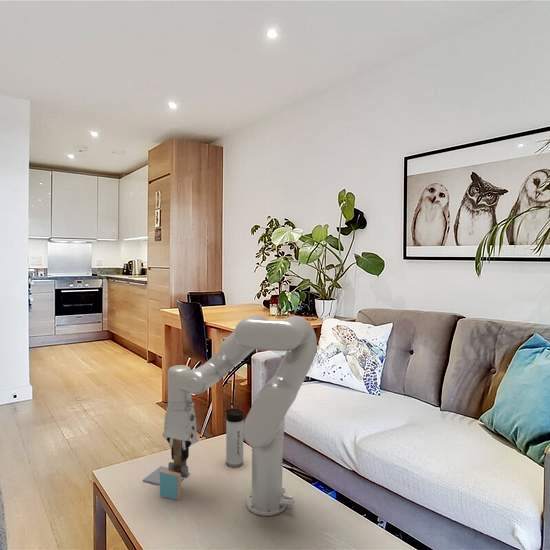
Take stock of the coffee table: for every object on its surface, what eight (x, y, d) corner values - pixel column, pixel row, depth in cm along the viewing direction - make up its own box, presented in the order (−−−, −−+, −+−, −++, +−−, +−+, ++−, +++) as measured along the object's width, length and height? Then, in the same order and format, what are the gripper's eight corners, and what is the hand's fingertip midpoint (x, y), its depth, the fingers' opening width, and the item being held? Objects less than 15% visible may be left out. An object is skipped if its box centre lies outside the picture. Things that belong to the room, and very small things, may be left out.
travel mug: (227, 458, 161) (227, 406, 160) (244, 459, 160) (245, 407, 159) (223, 466, 155) (223, 412, 154) (241, 468, 154) (241, 414, 153)
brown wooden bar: (191, 473, 141) (191, 432, 140) (186, 478, 138) (186, 435, 137) (173, 469, 143) (173, 428, 142) (168, 473, 140) (168, 432, 140)
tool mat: (189, 474, 150) (189, 472, 150) (172, 488, 140) (172, 487, 140) (161, 467, 154) (161, 466, 154) (142, 481, 145) (142, 479, 145)
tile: (181, 497, 135) (181, 473, 135) (177, 500, 134) (177, 476, 133) (162, 493, 138) (162, 469, 138) (159, 496, 136) (159, 471, 136)
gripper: (207, 403, 140) (207, 458, 141) (165, 397, 146) (166, 449, 147) (194, 411, 133) (194, 469, 134) (151, 404, 139) (152, 459, 140)
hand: (179, 458), depth 140 cm, fingers closed on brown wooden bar, 3 cm apart
